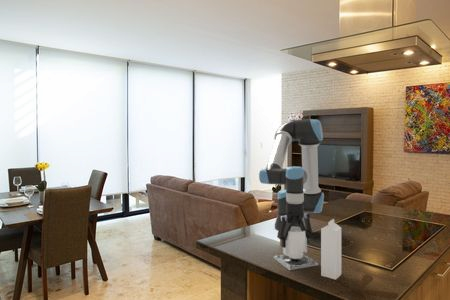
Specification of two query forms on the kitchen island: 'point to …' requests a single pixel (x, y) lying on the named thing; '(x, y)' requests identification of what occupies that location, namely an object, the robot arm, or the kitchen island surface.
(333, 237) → the milk
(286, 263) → the flange
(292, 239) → the cup
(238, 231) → the kitchen island surface
